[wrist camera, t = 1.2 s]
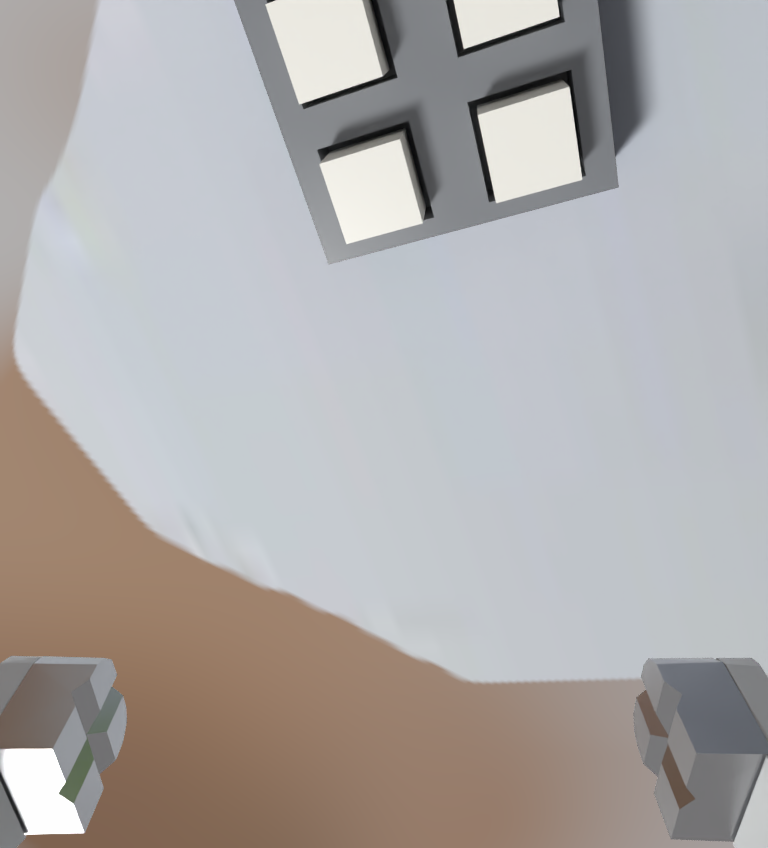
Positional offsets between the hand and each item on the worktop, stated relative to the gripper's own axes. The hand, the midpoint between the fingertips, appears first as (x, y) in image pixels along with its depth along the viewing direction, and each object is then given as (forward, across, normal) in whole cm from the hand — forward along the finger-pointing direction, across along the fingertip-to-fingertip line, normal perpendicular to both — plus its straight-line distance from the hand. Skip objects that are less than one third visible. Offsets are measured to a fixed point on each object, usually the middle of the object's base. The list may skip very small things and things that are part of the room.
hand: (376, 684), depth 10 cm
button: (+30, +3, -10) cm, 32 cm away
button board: (+33, -2, -8) cm, 34 cm away
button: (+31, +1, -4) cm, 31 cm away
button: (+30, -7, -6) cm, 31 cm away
